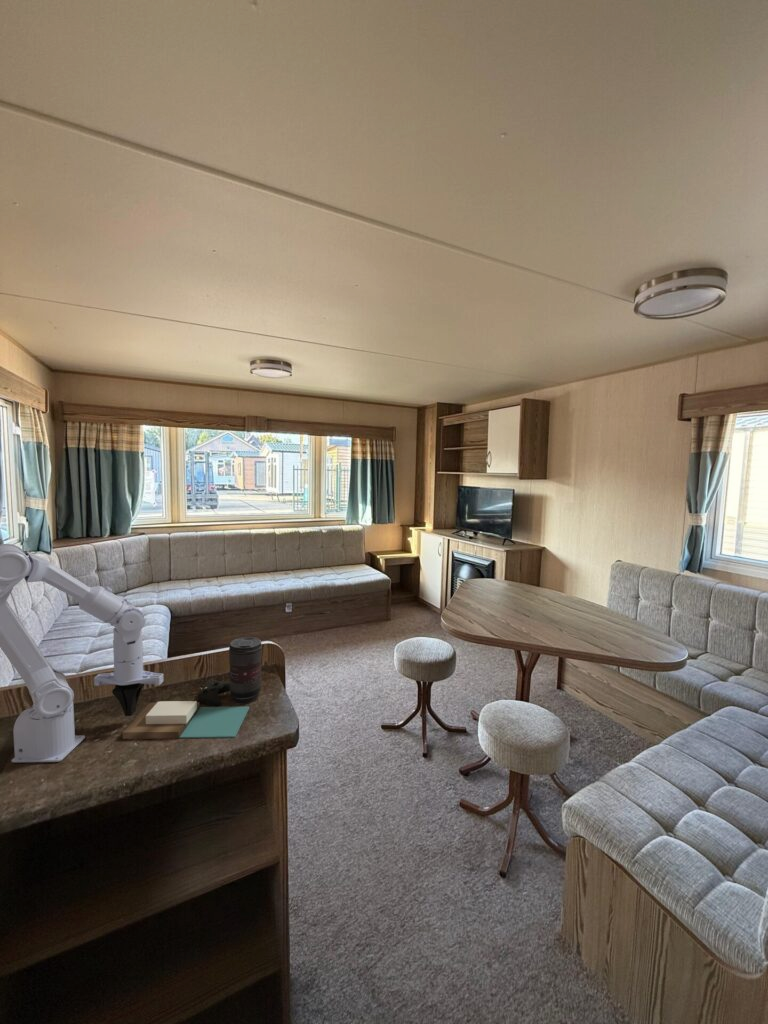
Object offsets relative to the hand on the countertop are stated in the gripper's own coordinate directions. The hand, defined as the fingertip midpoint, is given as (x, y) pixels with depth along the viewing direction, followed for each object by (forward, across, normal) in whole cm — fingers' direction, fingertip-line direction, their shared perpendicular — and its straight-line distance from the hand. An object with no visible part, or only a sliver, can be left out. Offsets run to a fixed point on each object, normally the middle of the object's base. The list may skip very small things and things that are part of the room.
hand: (130, 713), depth 97 cm
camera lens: (+2, -24, -11) cm, 26 cm away
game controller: (+3, -15, -11) cm, 19 cm away
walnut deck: (+2, -8, 0) cm, 8 cm away
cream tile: (0, -10, 0) cm, 10 cm away
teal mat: (+2, -20, 0) cm, 20 cm away
